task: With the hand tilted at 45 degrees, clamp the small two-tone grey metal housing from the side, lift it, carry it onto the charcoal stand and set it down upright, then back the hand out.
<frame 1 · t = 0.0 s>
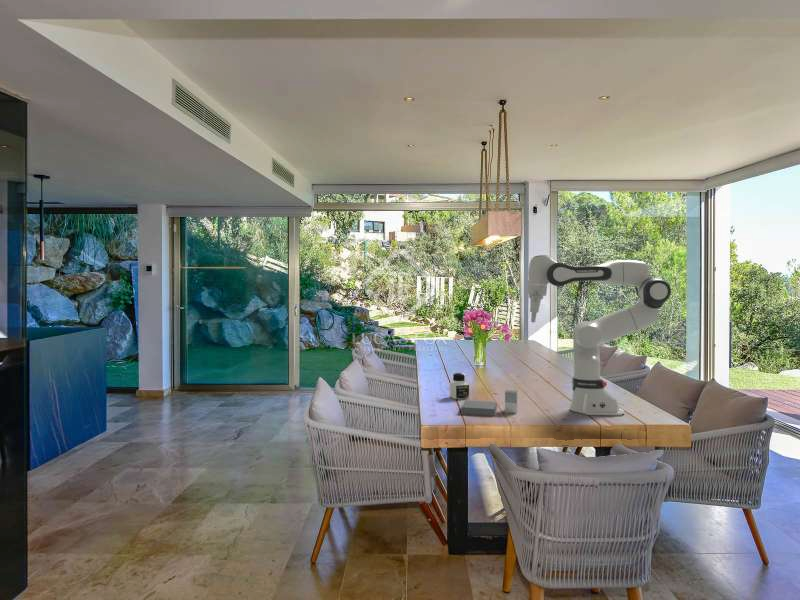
hand: (533, 321, 241), 39 cm above the table, tool pointing down, fingers open, 8 cm apart
charcoal stand: (479, 411, 234), on the table
medicine bottle: (459, 398, 262), on the table
metal housing: (511, 411, 234), on the table
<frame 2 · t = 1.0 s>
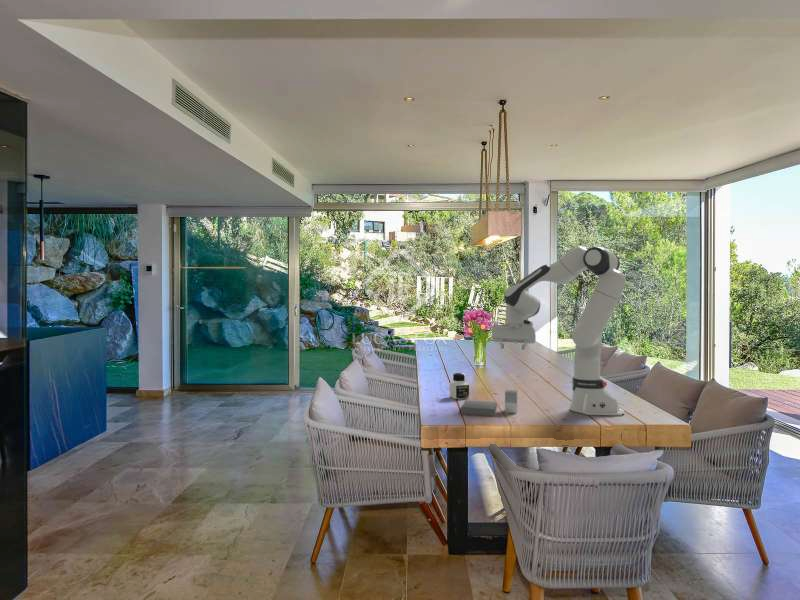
hand: (512, 348, 247), 26 cm above the table, tool tilted 45°, fingers open, 8 cm apart
nothing on the table moved.
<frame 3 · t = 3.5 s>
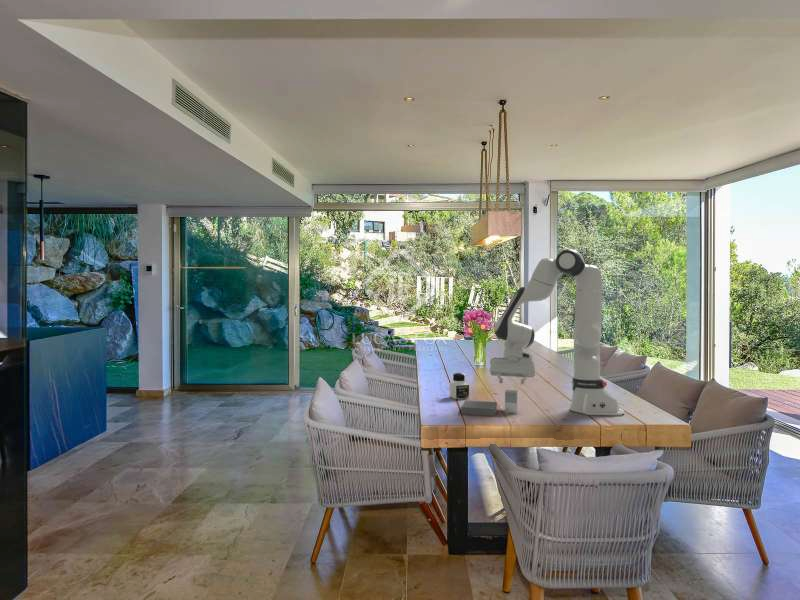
hand: (511, 383, 240), 11 cm above the table, tool tilted 45°, fingers open, 8 cm apart
nothing on the table moved.
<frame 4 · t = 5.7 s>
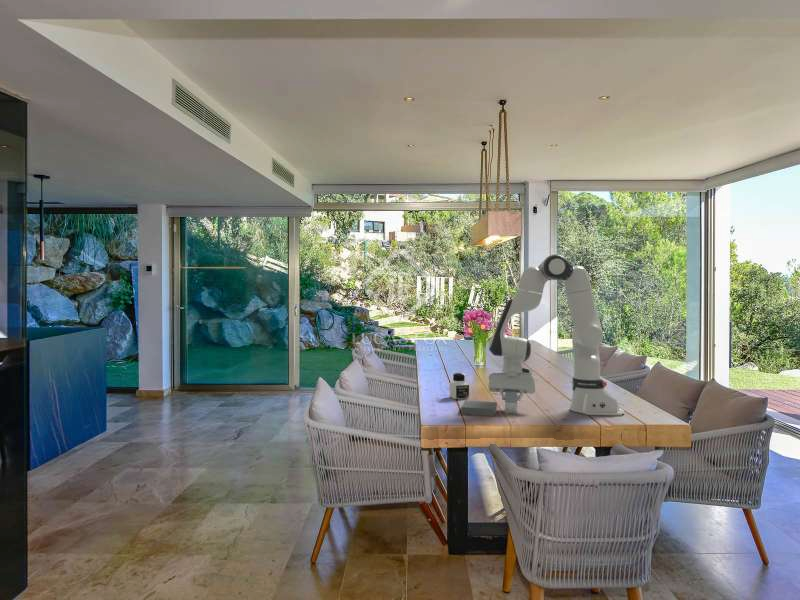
hand: (511, 399, 233), 5 cm above the table, tool tilted 45°, fingers closed on metal housing, 5 cm apart
metal housing: (511, 411, 234), on the table, touching gripper
everything else where it was.
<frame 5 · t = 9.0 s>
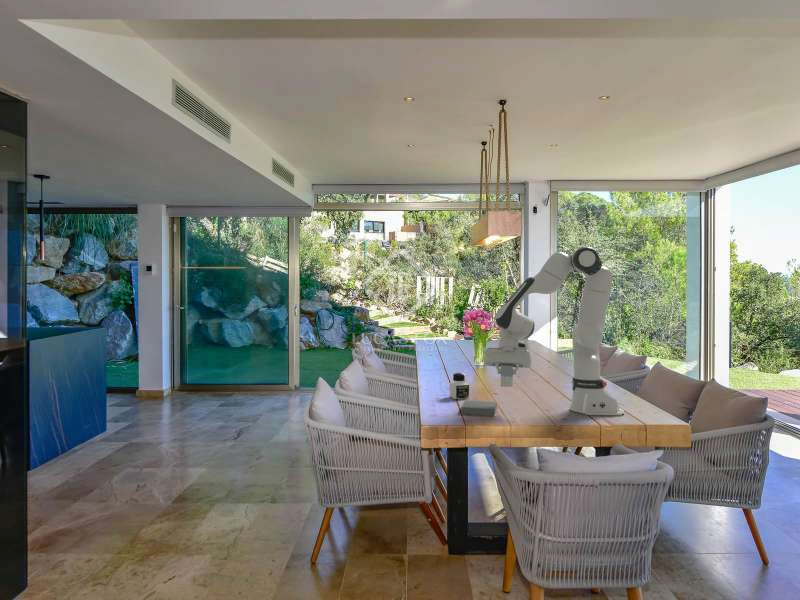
hand: (506, 373, 233), 17 cm above the table, tool tilted 45°, fingers closed on metal housing, 5 cm apart
metal housing: (506, 385, 234), point 11 cm above the table, touching gripper
everything else where it was.
when the fingers open (10 cm above the table, at t = 12.3 s): metal housing drops 1 cm, resting on charcoal stand.
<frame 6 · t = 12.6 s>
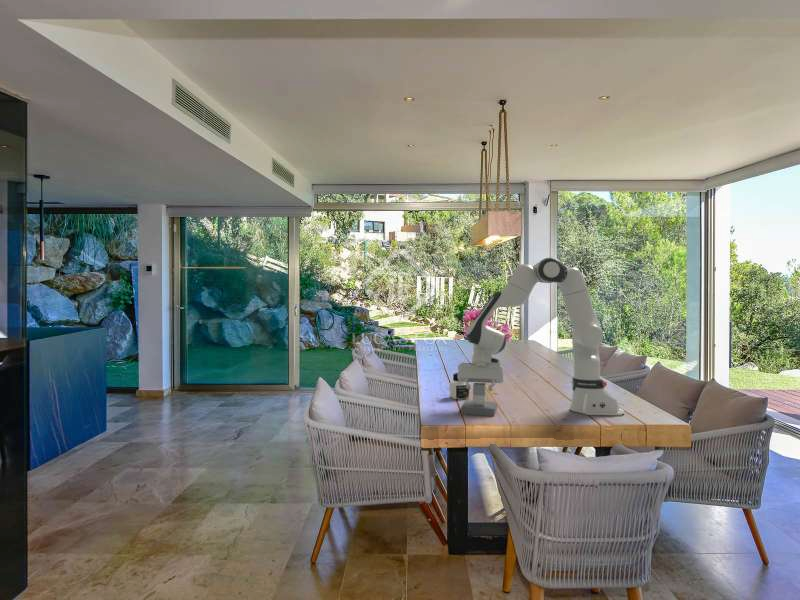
hand: (479, 389, 233), 10 cm above the table, tool tilted 45°, fingers open, 8 cm apart
metal housing: (479, 404, 234), point 3 cm above the table, touching charcoal stand
everything else where it was.
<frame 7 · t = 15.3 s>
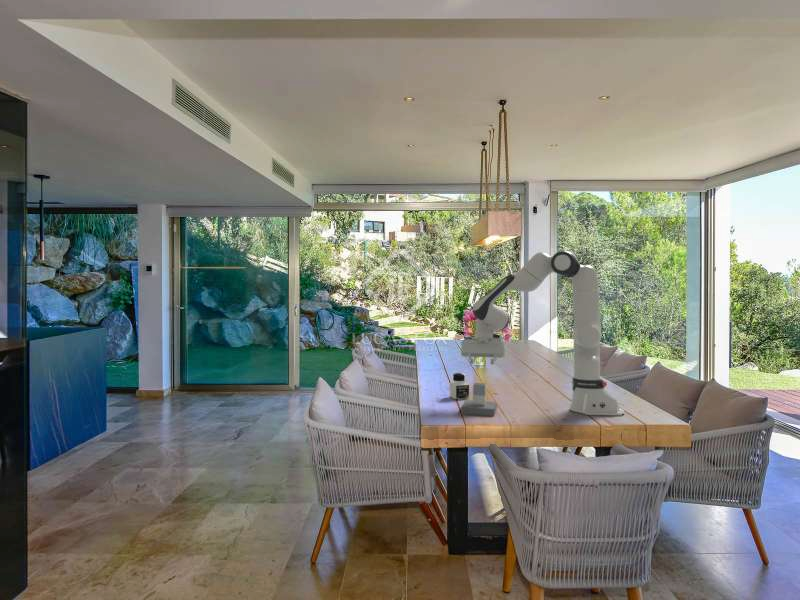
hand: (481, 363, 243), 20 cm above the table, tool tilted 45°, fingers open, 8 cm apart
nothing on the table moved.
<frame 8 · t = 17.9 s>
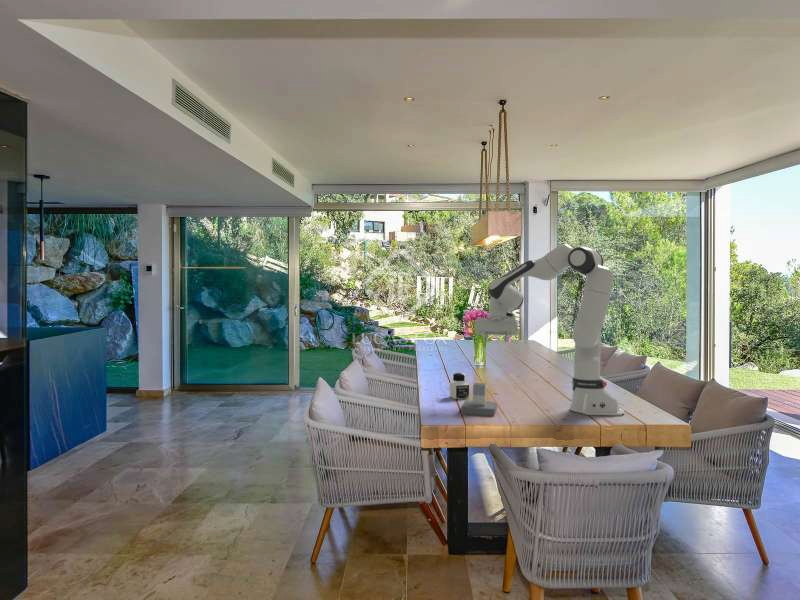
hand: (495, 340, 250), 29 cm above the table, tool tilted 45°, fingers open, 8 cm apart
nothing on the table moved.
at the end: metal housing inside the target area on the charcoal stand (0.1 cm from its centre), point 3.0 cm above the charcoal stand's base; metal housing tilted 0°; the gripper is holding nothing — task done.
